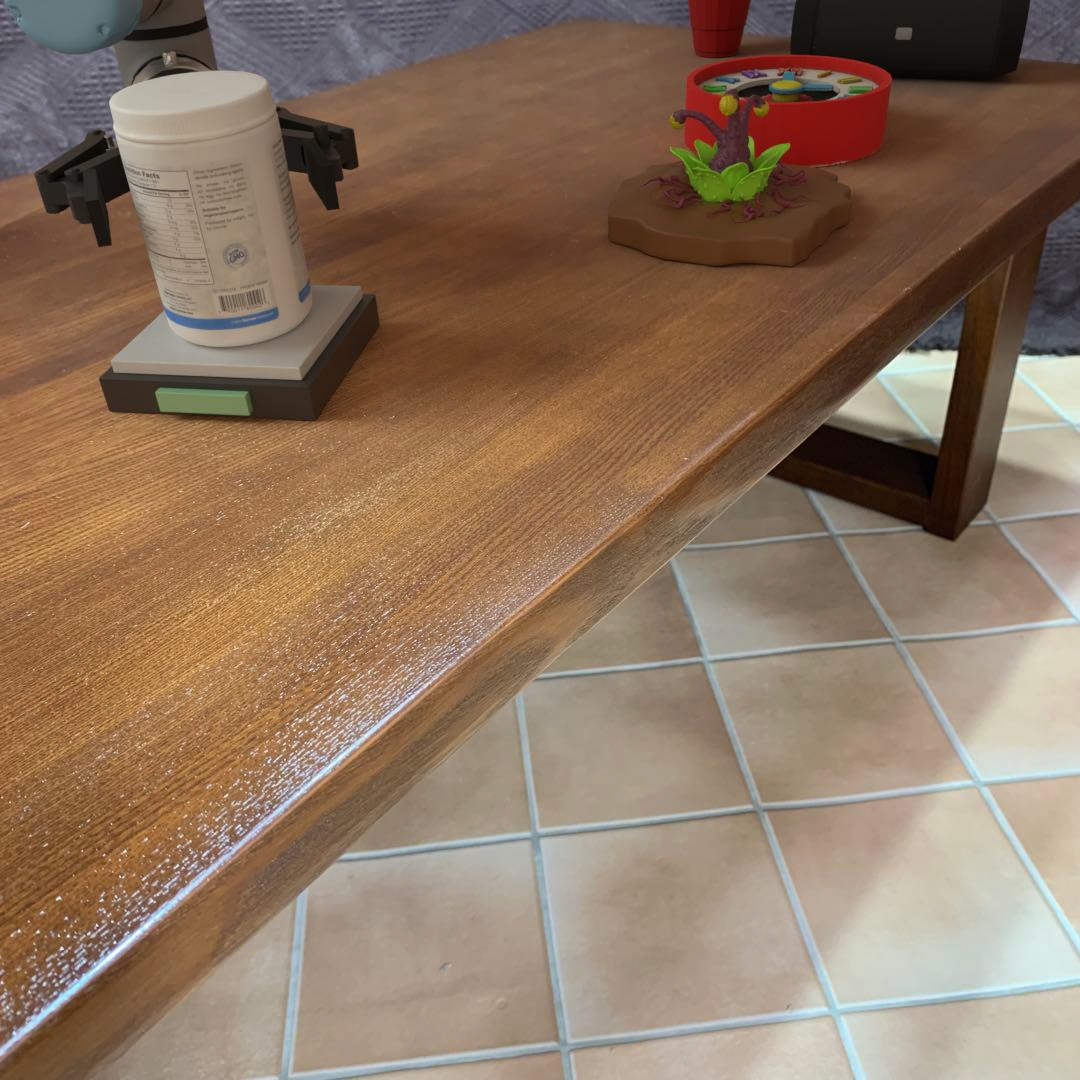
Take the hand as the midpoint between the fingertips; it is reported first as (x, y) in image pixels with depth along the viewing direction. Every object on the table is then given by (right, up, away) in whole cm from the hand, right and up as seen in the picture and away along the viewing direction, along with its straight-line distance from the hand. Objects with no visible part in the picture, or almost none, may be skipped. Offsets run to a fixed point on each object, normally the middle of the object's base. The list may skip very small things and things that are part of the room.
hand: (217, 205), depth 64 cm
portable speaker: (+62, +36, +65) cm, 97 cm away
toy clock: (+44, +21, +47) cm, 68 cm away
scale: (0, -8, +9) cm, 12 cm away
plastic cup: (+43, +44, +79) cm, 100 cm away
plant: (+35, +7, +28) cm, 45 cm away
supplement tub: (-1, -6, +8) cm, 9 cm away
